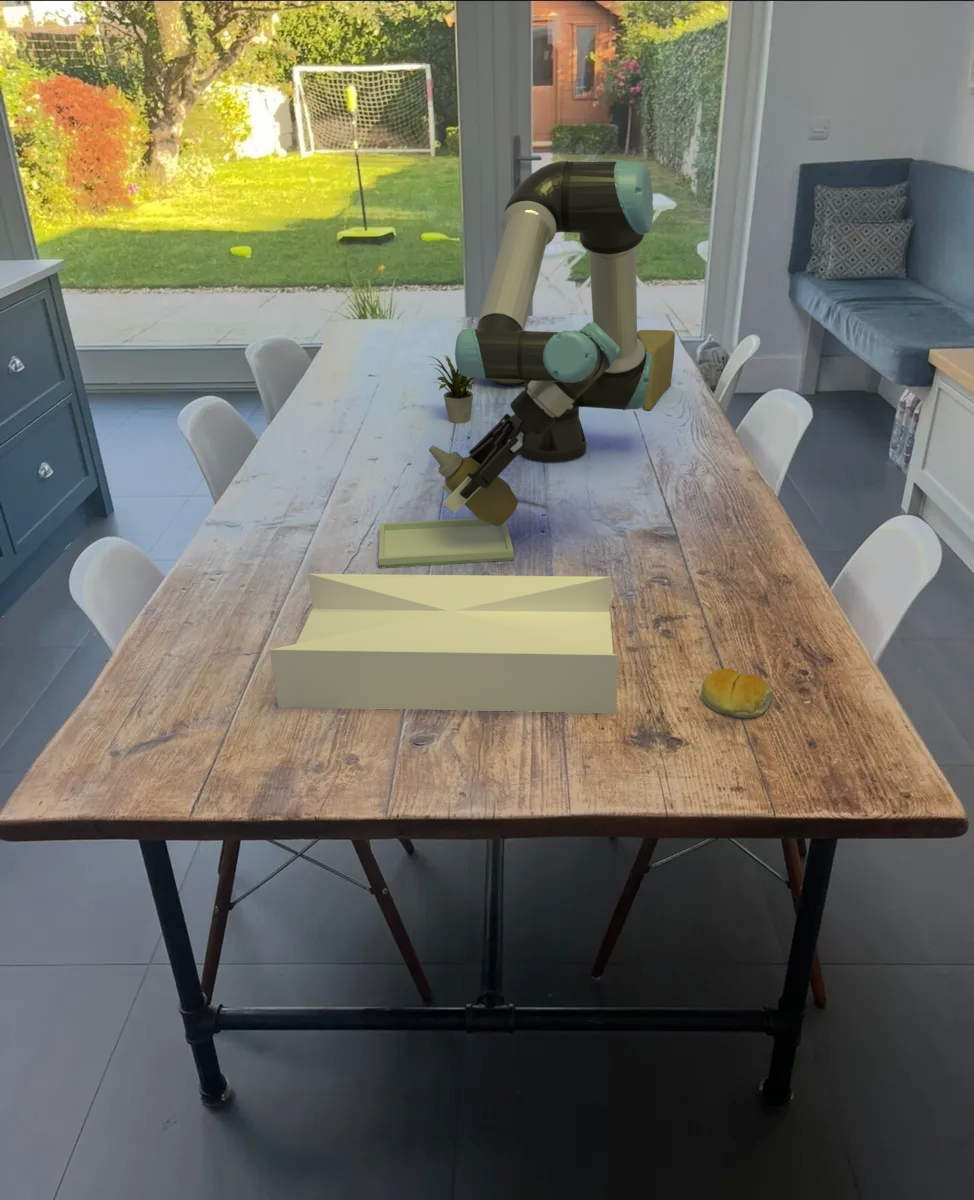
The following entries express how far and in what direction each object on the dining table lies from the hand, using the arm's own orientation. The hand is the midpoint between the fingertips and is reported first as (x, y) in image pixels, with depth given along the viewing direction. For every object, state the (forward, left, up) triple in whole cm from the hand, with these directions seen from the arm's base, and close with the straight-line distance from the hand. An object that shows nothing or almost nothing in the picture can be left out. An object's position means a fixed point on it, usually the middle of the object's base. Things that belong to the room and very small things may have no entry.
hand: (448, 499), depth 173 cm
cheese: (-43, +88, -9) cm, 98 cm away
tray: (-1, -1, -9) cm, 9 cm away
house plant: (-60, +39, -9) cm, 72 cm away
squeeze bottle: (+5, +9, -3) cm, 11 cm away
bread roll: (+64, +4, -9) cm, 65 cm away
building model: (+34, -22, -10) cm, 42 cm away
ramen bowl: (-78, +69, -9) cm, 104 cm away
